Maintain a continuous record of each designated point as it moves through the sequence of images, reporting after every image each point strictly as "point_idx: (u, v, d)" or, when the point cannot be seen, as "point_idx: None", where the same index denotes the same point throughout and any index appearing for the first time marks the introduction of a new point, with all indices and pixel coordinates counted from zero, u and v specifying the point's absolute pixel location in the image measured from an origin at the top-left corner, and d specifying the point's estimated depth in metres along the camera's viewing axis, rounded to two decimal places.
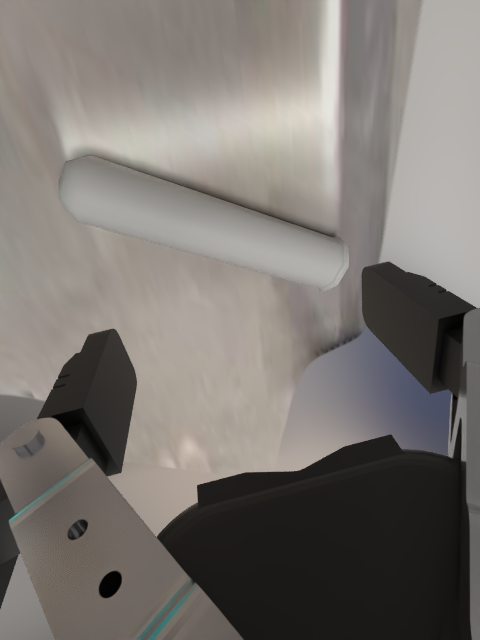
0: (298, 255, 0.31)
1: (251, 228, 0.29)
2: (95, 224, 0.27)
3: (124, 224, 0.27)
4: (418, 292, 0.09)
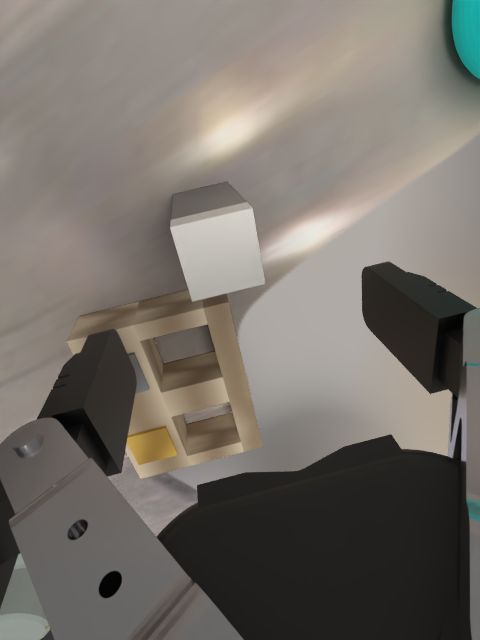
0: None
1: None
2: None
3: None
4: (418, 292, 0.09)
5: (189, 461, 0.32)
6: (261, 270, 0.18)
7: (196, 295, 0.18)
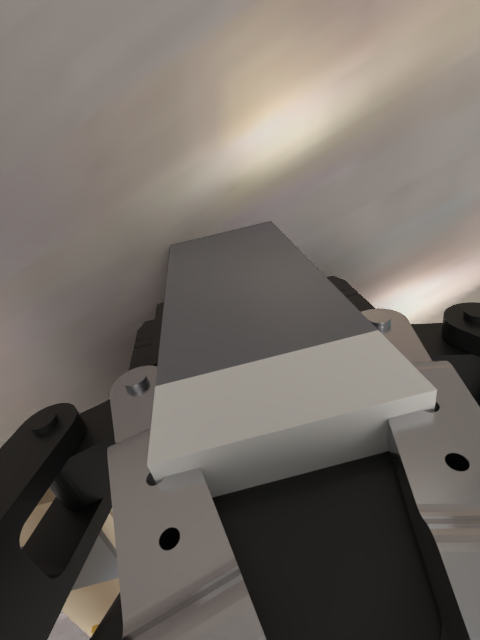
0: None
1: None
2: None
3: None
4: None
5: None
6: None
7: None
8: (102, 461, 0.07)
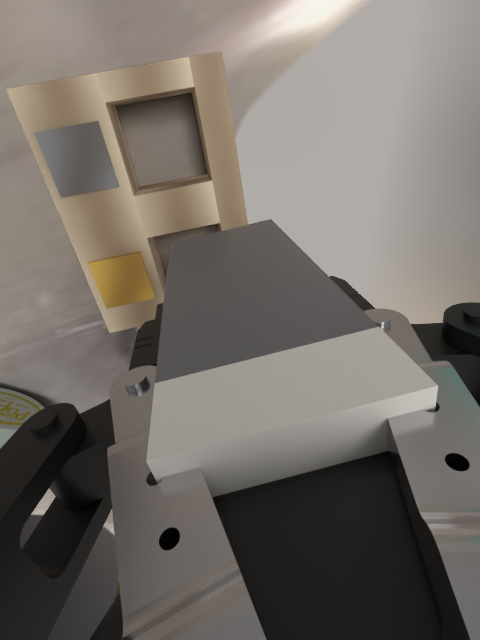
0: None
1: None
2: None
3: None
4: None
5: None
6: None
7: None
8: (102, 461, 0.07)
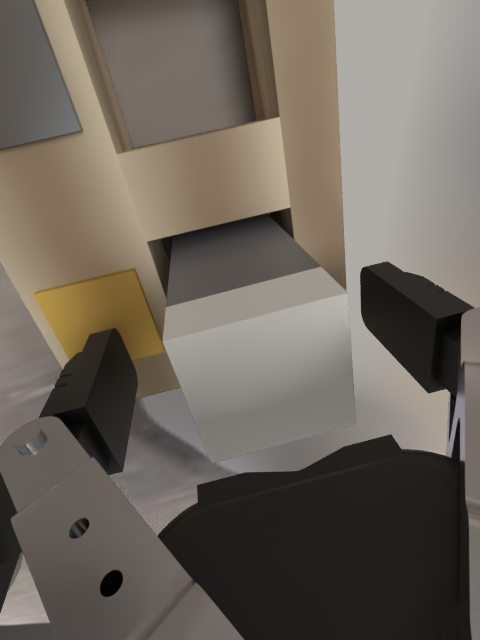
0: None
1: None
2: None
3: None
4: (416, 292, 0.09)
5: None
6: (351, 403, 0.09)
7: (220, 453, 0.09)
8: None
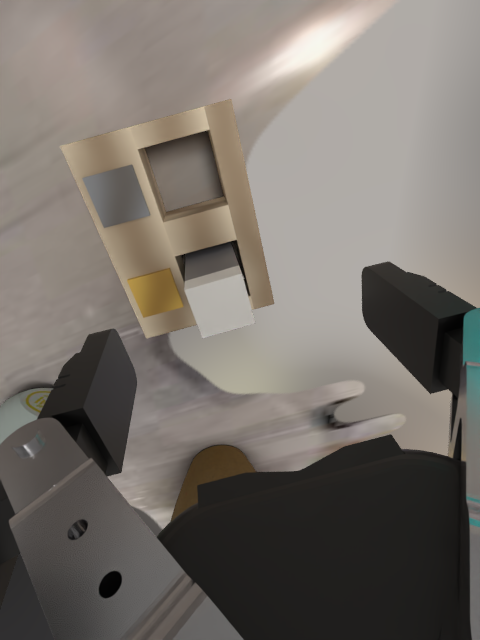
0: None
1: None
2: None
3: None
4: (418, 292, 0.09)
5: None
6: (251, 314, 0.24)
7: (205, 334, 0.25)
8: None
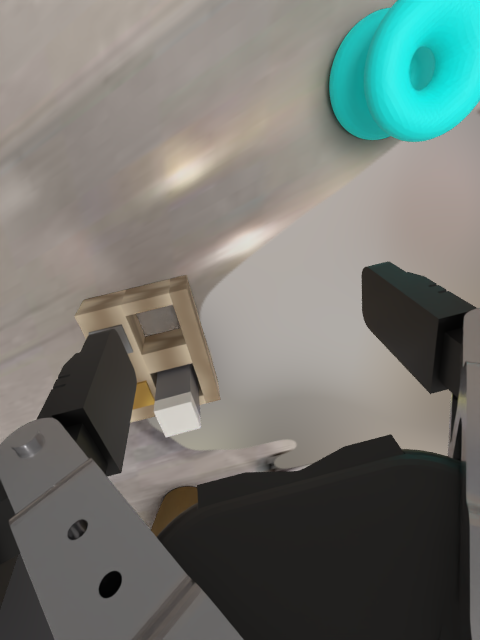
0: None
1: None
2: None
3: None
4: (418, 292, 0.09)
5: None
6: (198, 423, 0.37)
7: (168, 434, 0.38)
8: None
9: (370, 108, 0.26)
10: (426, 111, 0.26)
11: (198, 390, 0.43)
